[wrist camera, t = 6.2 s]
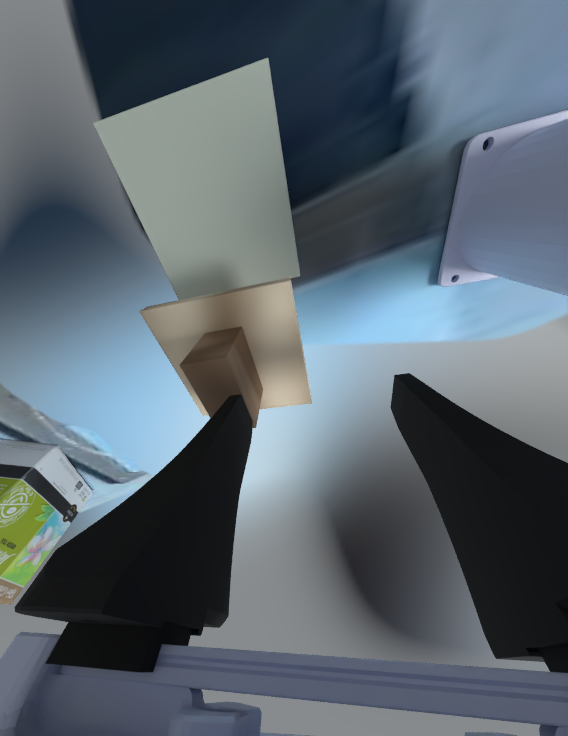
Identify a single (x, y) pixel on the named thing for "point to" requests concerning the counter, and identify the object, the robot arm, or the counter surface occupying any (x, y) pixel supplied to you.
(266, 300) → the lid
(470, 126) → the counter surface
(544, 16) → the counter surface
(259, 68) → the mat
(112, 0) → the counter surface
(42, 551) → the tea box
